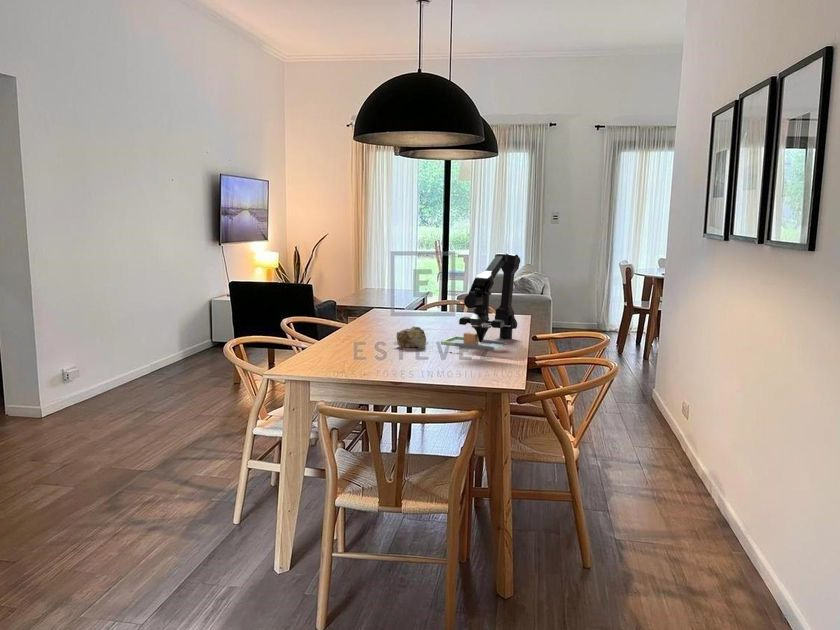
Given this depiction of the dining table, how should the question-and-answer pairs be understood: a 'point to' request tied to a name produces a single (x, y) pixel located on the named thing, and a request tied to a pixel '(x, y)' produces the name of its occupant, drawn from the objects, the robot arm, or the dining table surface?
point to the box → (459, 342)
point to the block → (470, 338)
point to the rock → (412, 338)
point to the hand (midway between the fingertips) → (480, 342)
